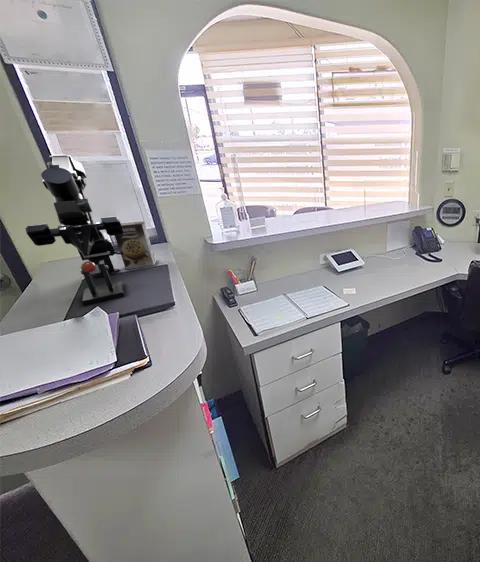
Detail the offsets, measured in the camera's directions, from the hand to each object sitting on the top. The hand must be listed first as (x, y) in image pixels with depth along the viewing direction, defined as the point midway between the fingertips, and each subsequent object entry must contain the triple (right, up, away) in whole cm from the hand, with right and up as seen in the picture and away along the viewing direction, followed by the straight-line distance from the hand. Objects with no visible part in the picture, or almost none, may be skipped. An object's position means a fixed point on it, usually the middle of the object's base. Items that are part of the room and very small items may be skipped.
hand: (86, 255), depth 82 cm
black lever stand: (-4, -11, +10) cm, 15 cm away
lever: (-1, -5, +3) cm, 6 cm away
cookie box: (-13, -1, +36) cm, 38 cm away
